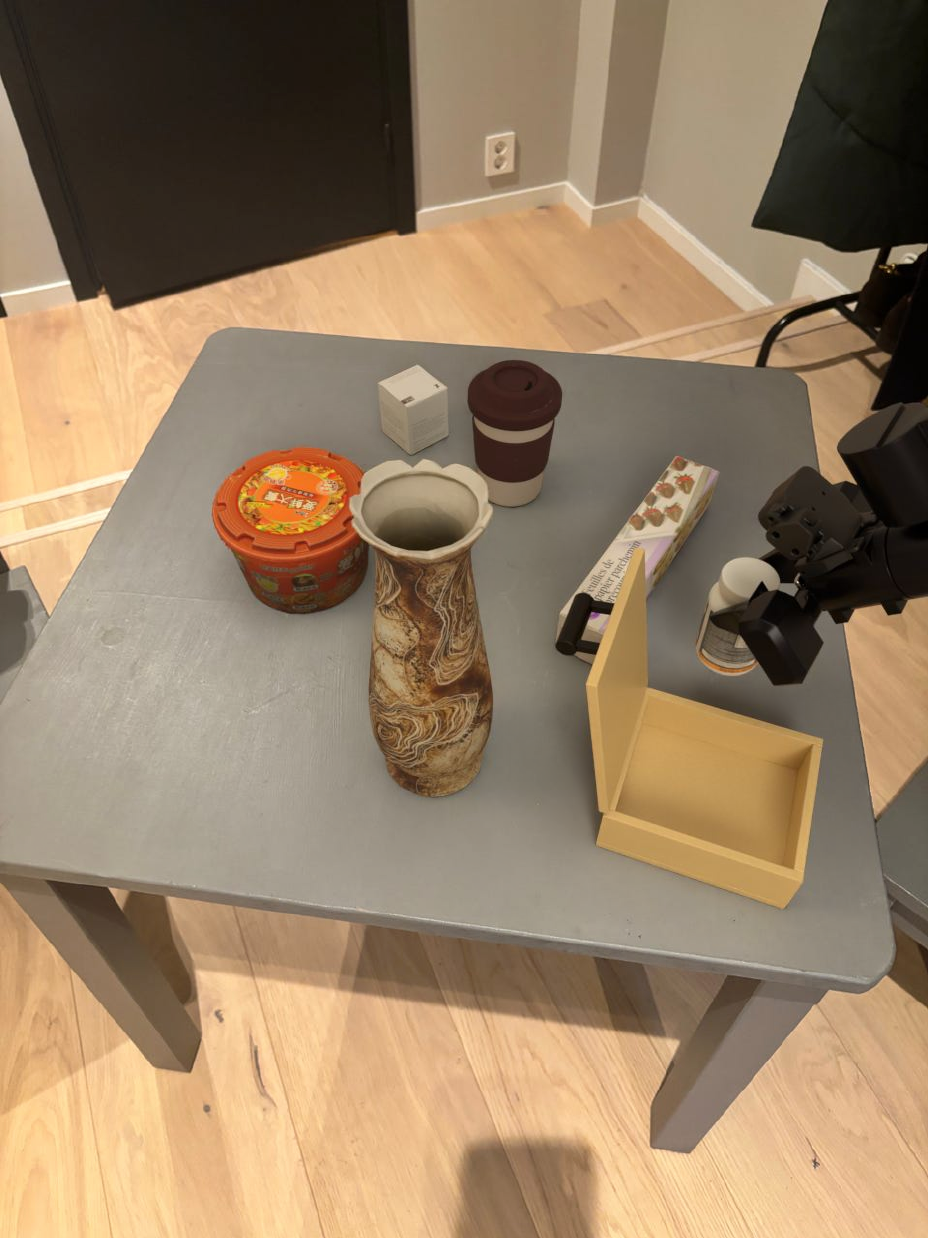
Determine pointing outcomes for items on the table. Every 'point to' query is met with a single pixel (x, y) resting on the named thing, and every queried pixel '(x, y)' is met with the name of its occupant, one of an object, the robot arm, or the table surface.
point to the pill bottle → (732, 588)
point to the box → (648, 539)
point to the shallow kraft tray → (716, 798)
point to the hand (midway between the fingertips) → (727, 597)
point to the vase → (426, 622)
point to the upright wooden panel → (612, 671)
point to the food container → (294, 528)
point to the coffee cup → (513, 428)
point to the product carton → (414, 409)
